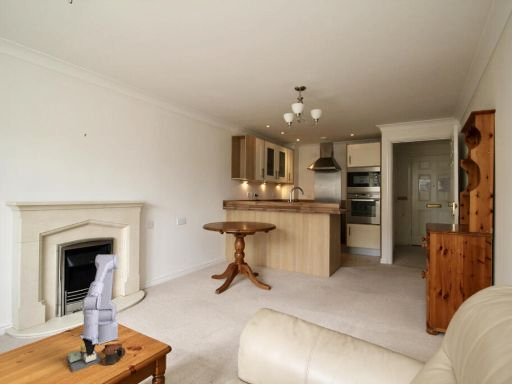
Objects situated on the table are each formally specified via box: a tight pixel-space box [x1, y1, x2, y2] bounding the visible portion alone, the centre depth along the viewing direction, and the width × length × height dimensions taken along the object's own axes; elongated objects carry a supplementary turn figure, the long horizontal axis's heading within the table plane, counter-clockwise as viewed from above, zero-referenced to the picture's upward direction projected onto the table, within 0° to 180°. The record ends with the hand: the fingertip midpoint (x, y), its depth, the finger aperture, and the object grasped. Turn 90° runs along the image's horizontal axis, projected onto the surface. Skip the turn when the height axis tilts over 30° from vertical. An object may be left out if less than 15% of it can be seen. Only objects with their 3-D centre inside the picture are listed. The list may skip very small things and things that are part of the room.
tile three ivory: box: [84, 352, 96, 362], centre depth 124 cm, size 4×4×2 cm
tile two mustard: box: [80, 343, 86, 353], centre depth 130 cm, size 4×4×2 cm
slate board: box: [65, 348, 102, 373], centre depth 126 cm, size 11×13×1 cm
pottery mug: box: [101, 342, 126, 366], centre depth 128 cm, size 12×10×8 cm
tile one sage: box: [67, 349, 81, 363], centre depth 124 cm, size 4×4×2 cm
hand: (89, 354), depth 124 cm, fingers closed, pressing on tile three ivory
